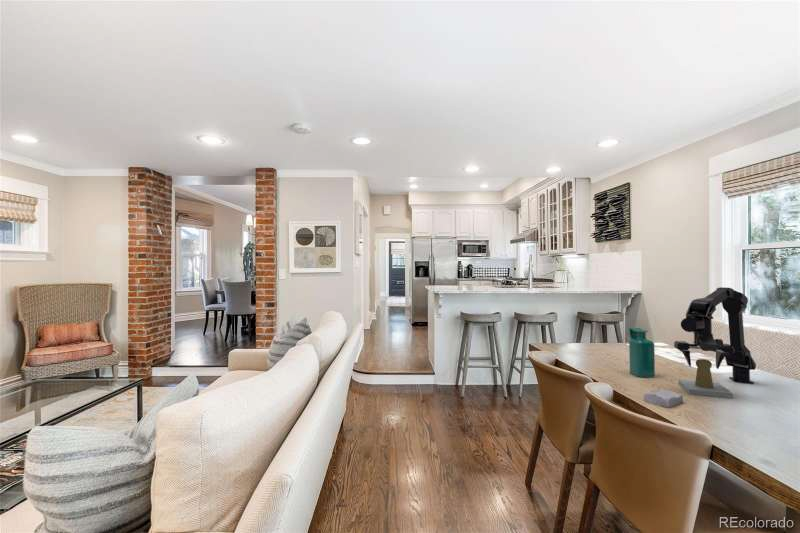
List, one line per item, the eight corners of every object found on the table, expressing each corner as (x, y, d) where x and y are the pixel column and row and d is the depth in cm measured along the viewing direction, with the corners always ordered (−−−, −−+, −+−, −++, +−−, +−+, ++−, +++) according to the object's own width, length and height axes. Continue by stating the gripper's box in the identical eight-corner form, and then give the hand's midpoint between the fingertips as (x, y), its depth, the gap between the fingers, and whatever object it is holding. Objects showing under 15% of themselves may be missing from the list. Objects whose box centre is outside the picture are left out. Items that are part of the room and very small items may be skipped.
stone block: (641, 405, 141) (670, 409, 132) (639, 393, 142) (667, 395, 133) (657, 401, 147) (686, 403, 138) (655, 388, 148) (683, 390, 139)
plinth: (678, 383, 160) (678, 379, 160) (718, 387, 155) (718, 383, 155) (689, 394, 148) (688, 389, 148) (733, 398, 142) (732, 393, 142)
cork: (717, 388, 148) (716, 361, 148) (700, 387, 149) (699, 361, 149) (708, 384, 154) (707, 358, 154) (691, 383, 155) (691, 357, 155)
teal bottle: (657, 377, 170) (656, 330, 171) (639, 377, 171) (638, 331, 171) (643, 371, 180) (642, 327, 180) (626, 371, 180) (625, 327, 181)
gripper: (681, 331, 148) (682, 370, 148) (740, 334, 140) (741, 375, 140) (673, 327, 158) (674, 363, 158) (727, 330, 151) (728, 367, 150)
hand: (703, 367), depth 151 cm, fingers open, 9 cm apart
